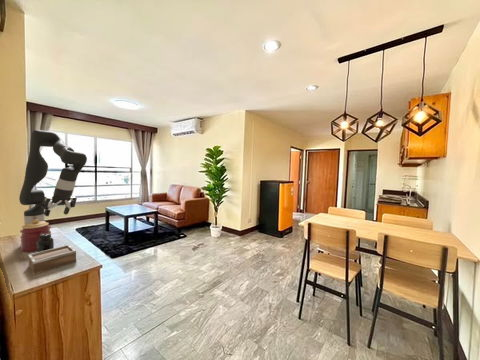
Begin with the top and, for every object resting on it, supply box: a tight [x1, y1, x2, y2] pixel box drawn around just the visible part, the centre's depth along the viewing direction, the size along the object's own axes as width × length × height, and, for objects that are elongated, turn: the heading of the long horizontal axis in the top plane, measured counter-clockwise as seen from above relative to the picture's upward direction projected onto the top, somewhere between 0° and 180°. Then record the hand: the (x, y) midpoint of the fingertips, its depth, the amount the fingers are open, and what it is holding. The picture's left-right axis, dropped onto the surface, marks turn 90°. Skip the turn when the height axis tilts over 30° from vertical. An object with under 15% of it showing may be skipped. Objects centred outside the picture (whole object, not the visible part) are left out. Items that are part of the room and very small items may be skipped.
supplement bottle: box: [36, 232, 55, 252], centre depth 112 cm, size 7×7×12 cm
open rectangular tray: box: [27, 244, 77, 275], centre depth 104 cm, size 12×16×6 cm
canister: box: [19, 219, 52, 253], centre depth 121 cm, size 13×13×18 cm
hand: (56, 214), depth 109 cm, fingers open, 8 cm apart
